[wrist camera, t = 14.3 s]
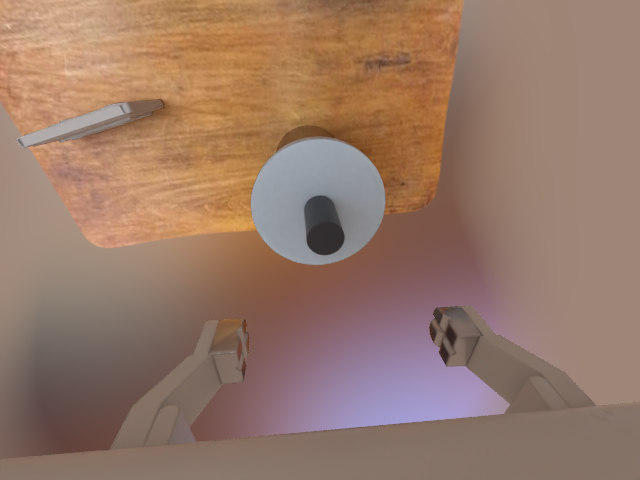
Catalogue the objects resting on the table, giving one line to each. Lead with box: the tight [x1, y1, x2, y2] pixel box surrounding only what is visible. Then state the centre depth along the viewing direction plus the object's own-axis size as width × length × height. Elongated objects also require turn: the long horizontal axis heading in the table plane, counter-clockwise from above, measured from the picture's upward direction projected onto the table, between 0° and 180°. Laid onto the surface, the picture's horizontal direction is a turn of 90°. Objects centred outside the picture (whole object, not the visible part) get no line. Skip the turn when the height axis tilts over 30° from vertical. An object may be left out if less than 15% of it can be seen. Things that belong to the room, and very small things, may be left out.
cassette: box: [16, 99, 164, 148], centre depth 29 cm, size 12×2×8 cm, turn 105°
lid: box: [251, 136, 385, 265], centre depth 20 cm, size 11×11×6 cm
